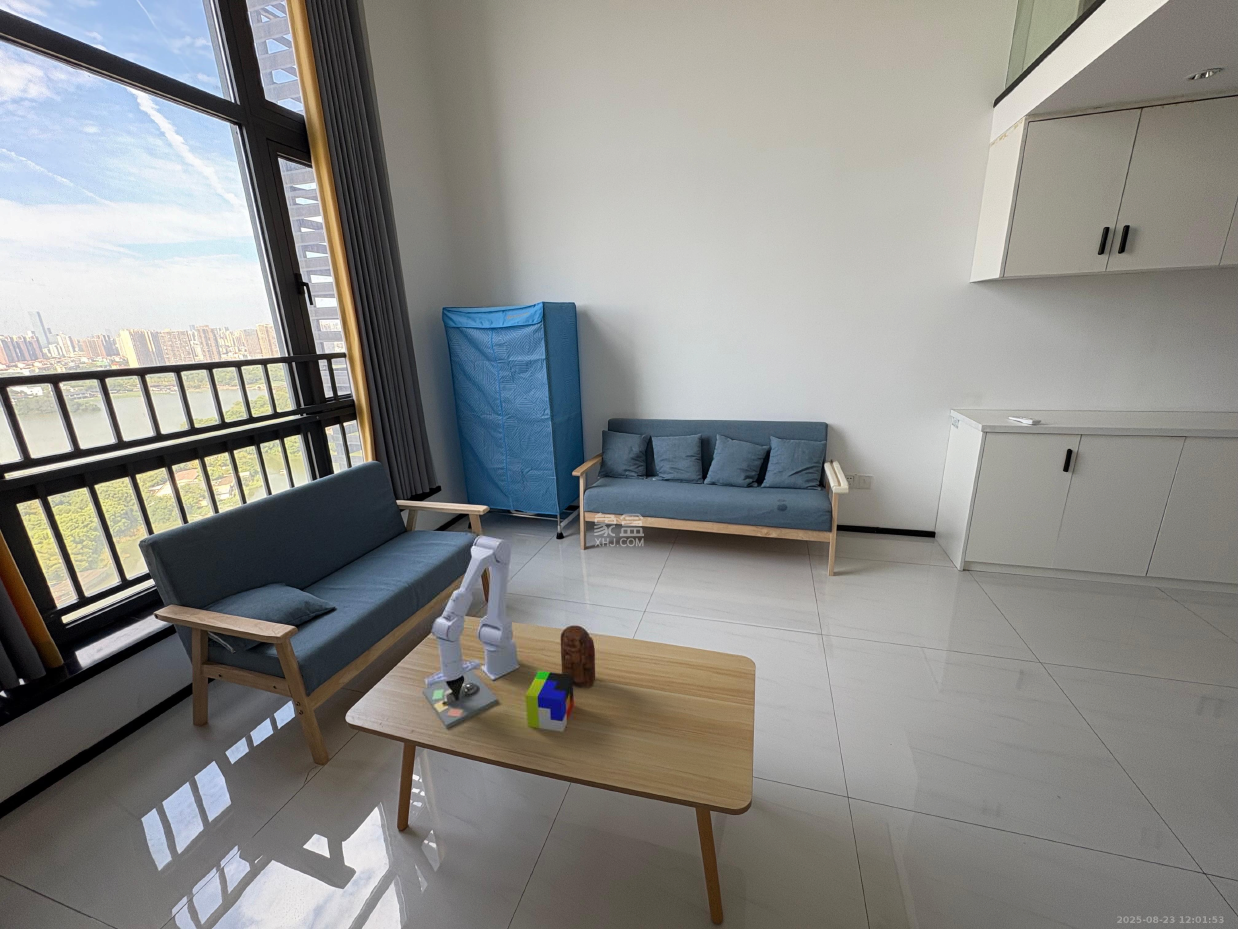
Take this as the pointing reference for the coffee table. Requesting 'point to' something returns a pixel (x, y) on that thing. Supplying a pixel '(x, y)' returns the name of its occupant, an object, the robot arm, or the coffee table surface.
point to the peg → (465, 690)
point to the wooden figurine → (578, 656)
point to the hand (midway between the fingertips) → (456, 698)
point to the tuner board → (464, 705)
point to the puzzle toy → (550, 701)
